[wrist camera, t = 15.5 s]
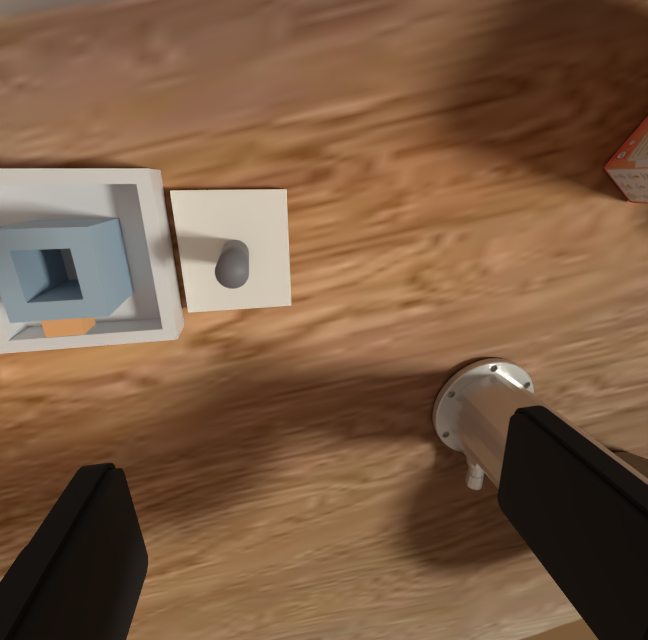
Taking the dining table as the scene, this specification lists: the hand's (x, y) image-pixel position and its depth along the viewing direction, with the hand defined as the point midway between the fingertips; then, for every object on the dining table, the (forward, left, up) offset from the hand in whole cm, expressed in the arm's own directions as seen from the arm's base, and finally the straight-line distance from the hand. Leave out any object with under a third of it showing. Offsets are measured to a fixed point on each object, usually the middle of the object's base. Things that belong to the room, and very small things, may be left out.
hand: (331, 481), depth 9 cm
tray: (+1, +15, -26) cm, 30 cm away
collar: (+1, +15, -25) cm, 29 cm away
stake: (+1, +3, -26) cm, 26 cm away
